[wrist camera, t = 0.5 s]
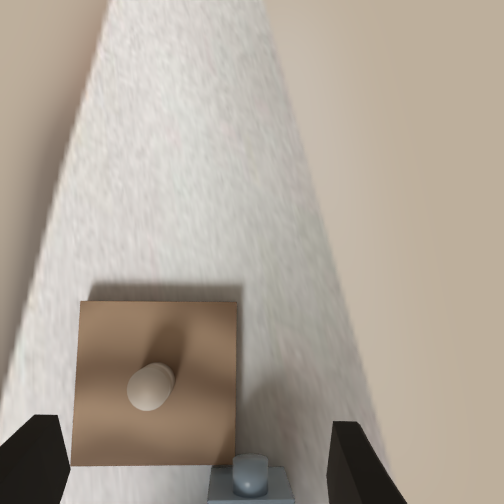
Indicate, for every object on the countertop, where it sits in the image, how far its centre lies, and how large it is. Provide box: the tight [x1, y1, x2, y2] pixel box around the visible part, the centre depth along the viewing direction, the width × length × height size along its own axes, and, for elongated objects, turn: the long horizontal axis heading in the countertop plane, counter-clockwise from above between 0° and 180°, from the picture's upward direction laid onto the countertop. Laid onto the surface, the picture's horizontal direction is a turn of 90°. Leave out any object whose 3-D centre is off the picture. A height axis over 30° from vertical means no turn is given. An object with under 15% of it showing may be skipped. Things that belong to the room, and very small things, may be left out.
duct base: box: [70, 301, 237, 466], centre depth 32 cm, size 12×12×5 cm
